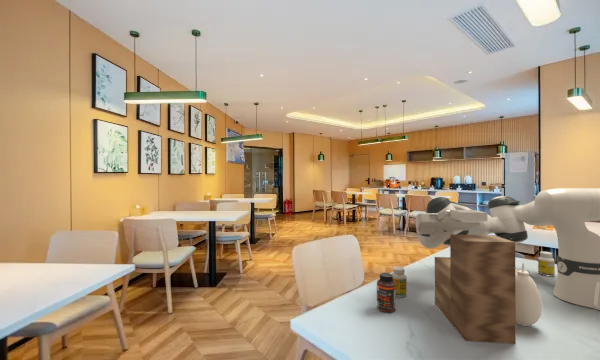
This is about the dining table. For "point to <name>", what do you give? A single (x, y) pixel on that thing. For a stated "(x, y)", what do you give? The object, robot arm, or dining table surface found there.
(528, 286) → the sauce bottle
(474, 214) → the lever cap
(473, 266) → the stepped stand
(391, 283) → the supplement bottle
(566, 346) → the dining table surface
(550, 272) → the supplement bottle
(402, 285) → the supplement bottle
